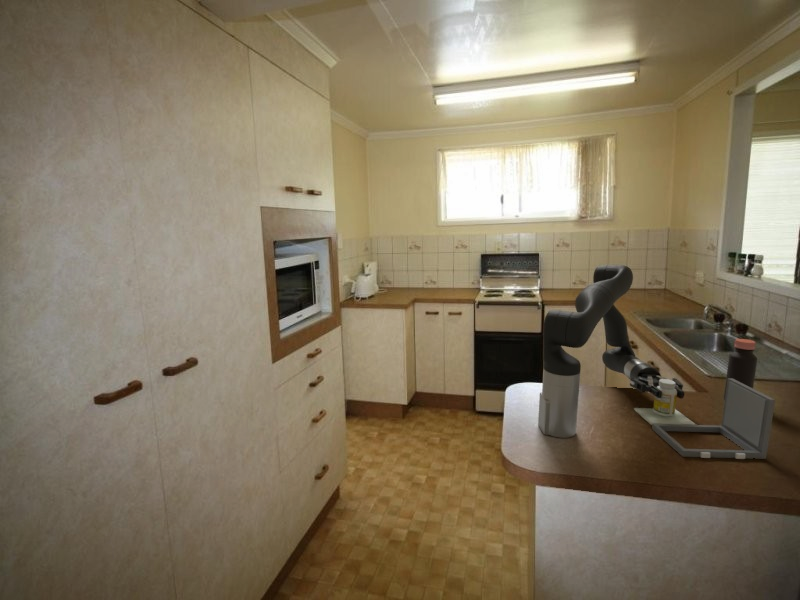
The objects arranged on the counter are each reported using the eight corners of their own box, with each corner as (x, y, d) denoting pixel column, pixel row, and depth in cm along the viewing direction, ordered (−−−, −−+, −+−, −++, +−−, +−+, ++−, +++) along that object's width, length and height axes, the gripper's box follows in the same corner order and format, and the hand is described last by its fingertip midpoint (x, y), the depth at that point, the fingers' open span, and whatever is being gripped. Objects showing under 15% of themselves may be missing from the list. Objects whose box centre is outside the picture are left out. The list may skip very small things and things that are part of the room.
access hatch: (683, 457, 101) (691, 399, 99) (652, 429, 116) (657, 377, 113) (767, 460, 100) (777, 400, 97) (725, 430, 114) (732, 378, 112)
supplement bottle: (661, 417, 120) (665, 385, 118) (648, 409, 125) (651, 378, 123) (679, 416, 120) (682, 384, 118) (665, 408, 125) (669, 377, 124)
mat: (651, 424, 118) (651, 423, 118) (633, 409, 128) (634, 408, 128) (695, 425, 117) (695, 424, 117) (674, 410, 127) (675, 408, 127)
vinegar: (740, 398, 136) (749, 338, 132) (756, 406, 129) (765, 344, 126) (718, 397, 137) (726, 337, 133) (732, 406, 130) (741, 343, 126)
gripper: (619, 362, 135) (646, 382, 118) (665, 363, 134) (699, 383, 117) (617, 384, 136) (643, 407, 120) (663, 385, 135) (696, 408, 119)
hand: (671, 395), depth 119 cm, fingers closed on supplement bottle, 5 cm apart
